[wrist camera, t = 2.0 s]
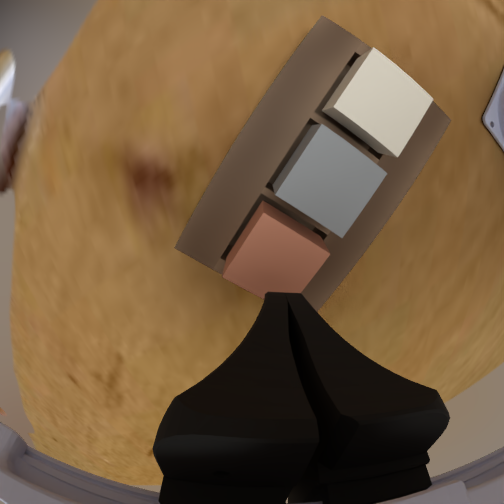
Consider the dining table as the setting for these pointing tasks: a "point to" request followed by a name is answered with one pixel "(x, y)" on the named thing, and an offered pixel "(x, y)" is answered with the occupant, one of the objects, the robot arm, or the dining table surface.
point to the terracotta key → (274, 254)
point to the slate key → (328, 179)
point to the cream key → (379, 103)
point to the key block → (282, 148)
